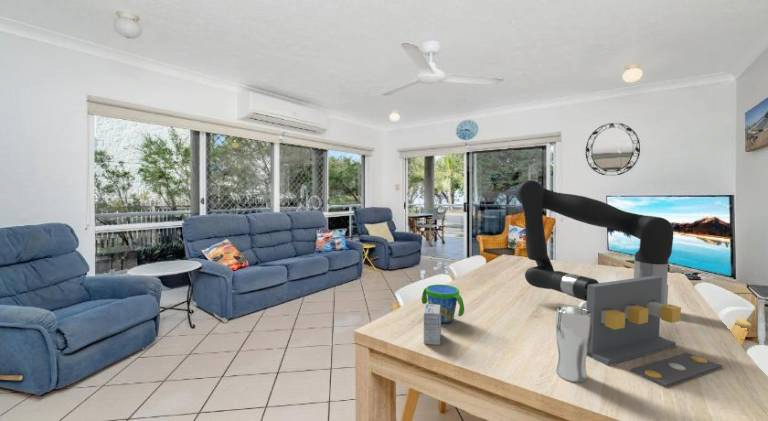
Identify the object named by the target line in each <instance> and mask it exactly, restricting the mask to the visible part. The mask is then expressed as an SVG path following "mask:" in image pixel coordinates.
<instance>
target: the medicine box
mask: <svg viewBox="0 0 768 421" xmlns="http://www.w3.org/2000/svg"><path fill="white" fill-rule="evenodd" d="M441 335H442V323H441V305H436V304H428V303H426V306H425V309H424V313H423V344H424V345H430V346H431V345H433V346H440V345H441V337H442V336H441Z"/></svg>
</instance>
